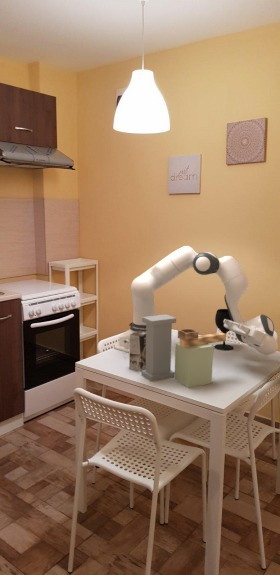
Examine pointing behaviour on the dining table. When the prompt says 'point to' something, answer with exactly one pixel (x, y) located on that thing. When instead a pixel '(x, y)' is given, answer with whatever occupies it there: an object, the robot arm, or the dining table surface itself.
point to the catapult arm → (198, 338)
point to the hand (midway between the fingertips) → (231, 323)
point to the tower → (158, 347)
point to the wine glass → (222, 327)
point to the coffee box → (137, 350)
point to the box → (193, 365)
